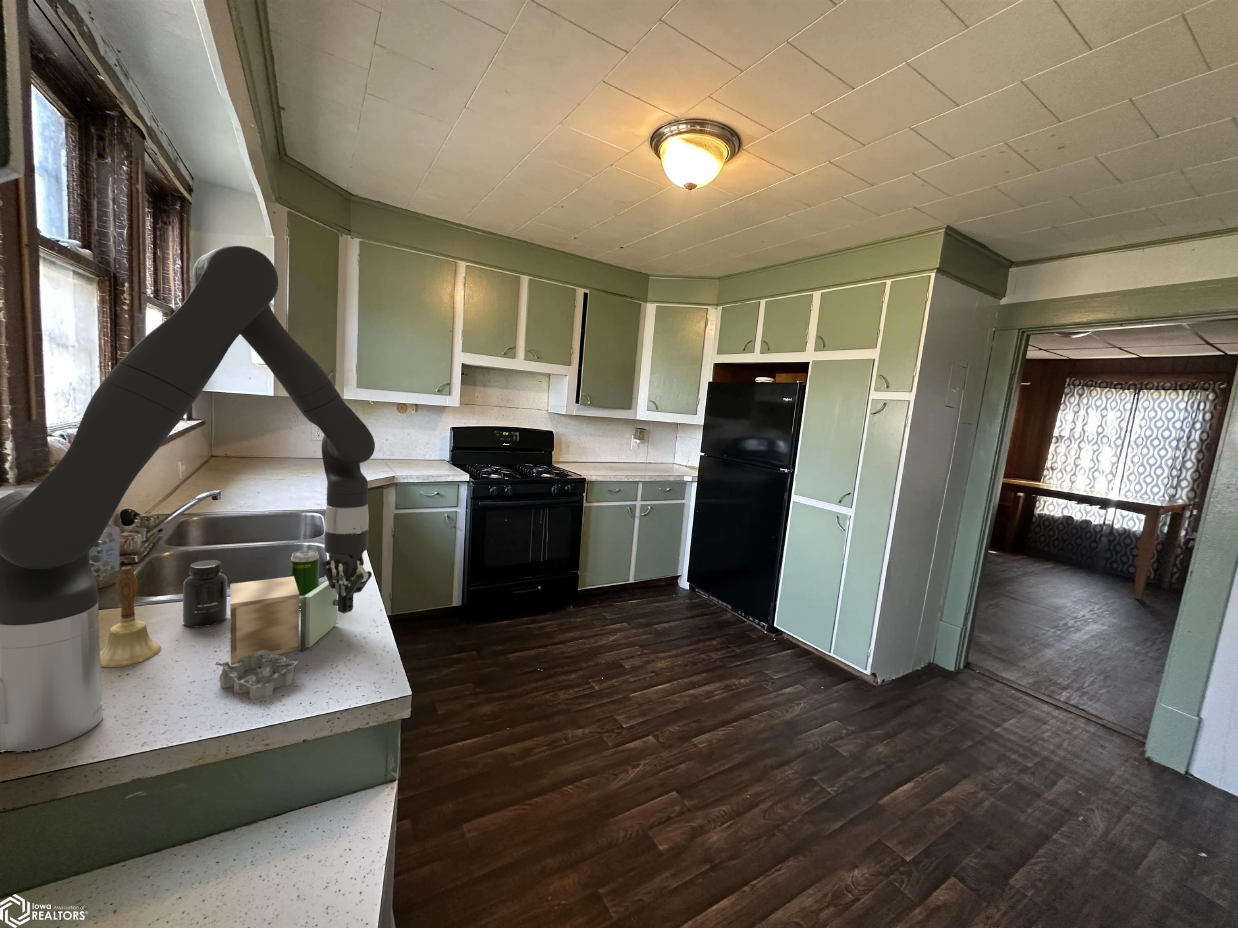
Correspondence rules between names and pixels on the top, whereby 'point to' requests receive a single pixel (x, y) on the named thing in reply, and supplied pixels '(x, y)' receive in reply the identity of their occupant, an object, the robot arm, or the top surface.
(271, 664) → the egg carton
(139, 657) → the hand bell
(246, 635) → the cupboard
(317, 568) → the beer can
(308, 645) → the door
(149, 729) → the top surface
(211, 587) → the supplement bottle
